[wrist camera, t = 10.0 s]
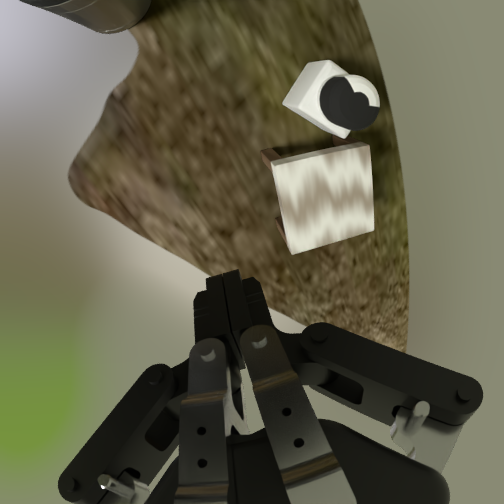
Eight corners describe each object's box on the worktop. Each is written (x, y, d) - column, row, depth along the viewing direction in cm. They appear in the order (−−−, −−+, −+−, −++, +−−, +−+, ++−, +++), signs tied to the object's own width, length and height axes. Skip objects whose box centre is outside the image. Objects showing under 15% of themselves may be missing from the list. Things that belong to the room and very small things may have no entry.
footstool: (274, 166, 32) (369, 145, 33) (260, 150, 39) (341, 133, 39) (292, 254, 39) (374, 230, 39) (277, 226, 46) (349, 206, 46)
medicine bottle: (323, 130, 39) (365, 149, 29) (280, 103, 36) (313, 112, 26) (348, 90, 36) (398, 97, 26) (307, 61, 33) (349, 56, 23)
